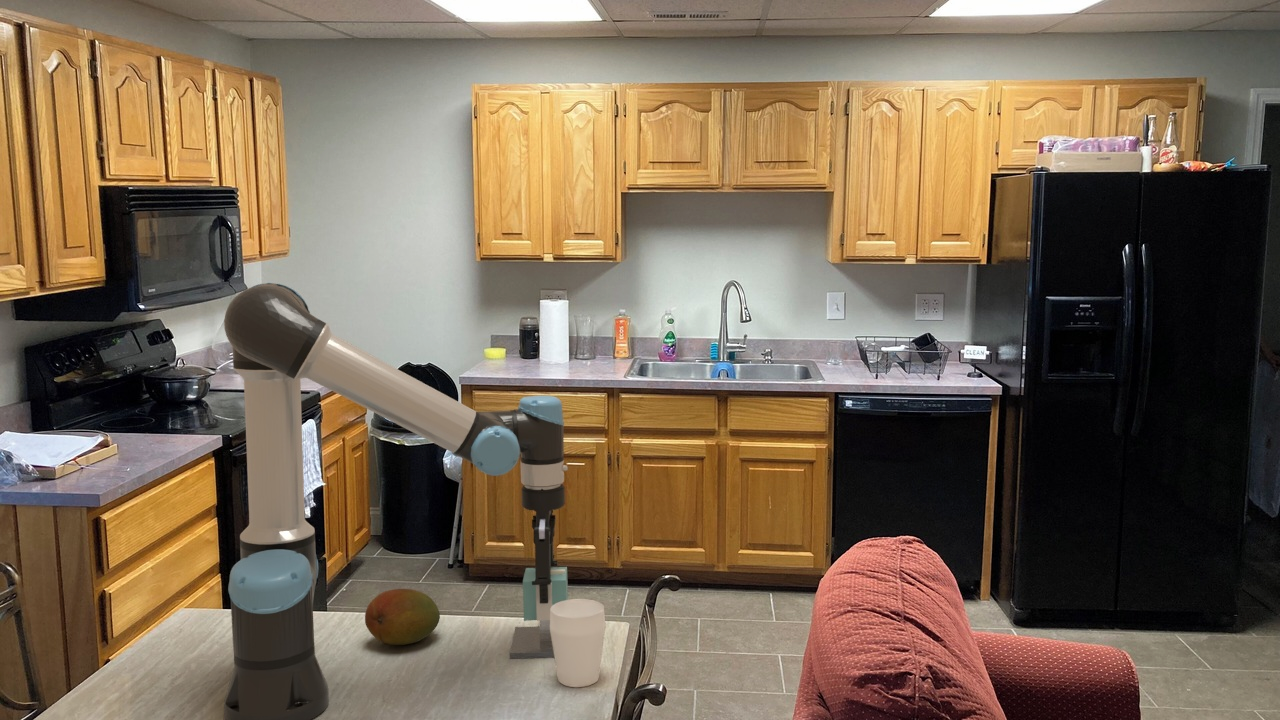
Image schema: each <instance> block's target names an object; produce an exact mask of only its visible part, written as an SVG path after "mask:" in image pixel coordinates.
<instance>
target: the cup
mask: <svg viewBox="0 0 1280 720" xmlns="http://www.w3.org/2000/svg"><path fill="white" fill-rule="evenodd" d="M605 618H606V615H605V606H604V604H603V603H602V602H600V601H597V600H593V599H587V598H570V599H568V600H564V601H561V602H558V603H556V604H554V605H553V606H552V607H551V609H550V633H551V639H552V645H553V651H554V662H555V667H556V674H557V680H558V683H561V684H562V685H564V686H566V687H571V688H583V687H589V686H591V685H593V684H595V683H597V682H598V680H599V679H600V671H601V663H602V655H603V647H604V641H605V631H606V619H605Z"/></svg>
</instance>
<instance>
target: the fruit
mask: <svg viewBox="0 0 1280 720" xmlns="http://www.w3.org/2000/svg"><path fill="white" fill-rule="evenodd" d="M440 619H441V614H440V609H439V607H438V605H437V604H436V602H435V601H434V600H433V599H432V598H431V597H430V596H429V595H428V594H426V593H424V592H421V591H419V590H415V589H411V588H409V589H408V588H397V589H395V588H394V589H390V590H386V591H383V592H381V593H379V594H378V595H376V596H375V597H373V599H372V600H371V601H370V602H369V604H368V605H367V607H366V610H365V614H364V623H365V627H366V628H367V630H368V632H369V633H370V634H371V636H373V638H375V639H376V640H378V641H379V642H381V643H383V644H386V645H394V646H405V645H410V644H414V643H418V642H419V641H422V640H423V639H425V638H427V637H428V636H430V635H431V633H432V632H434V631H435V629H436V628H437V626H438V624H439V622H440Z"/></svg>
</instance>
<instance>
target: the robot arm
mask: <svg viewBox="0 0 1280 720" xmlns="http://www.w3.org/2000/svg"><path fill="white" fill-rule="evenodd" d="M223 322H224V323H223V327H224V332H225V336H226V338H227V340H228V342H229V343H230V345H231V347H232V363H233V364H232V366H233V371H235V372H236V374H238V375H240V377H241V378H242V379H243V387H244V388H243V389H244V391H243V392H244V417H245V441H246V443H245V444H246V446H245V447H246V463H247V464H246V465H247V466H246V467H247V469H246V470H247V492H248V494H247V495H248V497H247V498H248V518H249V519H248V522H249V523H248V526H247V527H245V529H244V530H243V531H242V532H241V533H240V534H239V548H240V549H239V550H240V560H239V561H237V562H236V563H235V564H234V565H233V566H232V568H231V570H230V572H229V573H230V574H229V580H228V581H229V582H228V588H227V589H228V594H229V598H230V612H231V613H230V614H231V629H232V648H233V649H232V650H233V651H232V652H233V670H232V673H231V677H230V679H229V684H228V687H227V692H226V694H225V698H224V702H223V709H224V711H223V713H224V714H223V715H224V720H312V719H314V718H316V717H318V716H319V715H321V714H322V713H323V712H324V711H325V710H326V709H327V707H328V706H329V703H330V693H329V685H328V682H327V681H326V677H325V676H324V673H323V670H322V668H321V666H320V663H319V662H318V659H317V656H316V650H315V649H316V648H315V630H314V597H315V596H314V595H315V589H316V584H317V579H318V578H319V576H318V575H319V561H318V558H317V554H316V551H317V550H316V532H315V527H314V526H313V525H311V524H310V523H309V522H308V521H307V520H306V517H305V516H306V515H305V487H304V486H305V483H304V482H305V481H304V455H303V453H304V451H303V450H304V449H303V426H302V425H303V420H302V419H303V418H302V397H301V396H302V392H301V391H302V390H301V386H302V385H301V380H302V379H309V380H310V381H312V382H315V383H317V384H318V385H320V386H321V387H323V388H325V389H328V390H330V391H332V392H333V393H335V394H338V395H339V396H341V397H344V398H345V399H347V400H349V401H352V403H355V404H357V405H359V406H361V407H363V408H365V409H367V410H369V411H370V412H373V413H374V414H376V415H379V416H380V417H383V419H386V420H388V421H390V422H392V423H394V424H396V425H398V426H400V427H401V428H404V429H406V430H407V431H410V432H412V433H414V434H415V435H417V436H419V437H421V438H423V439H425V440H427V441H429V442H431V443H433V444H435V445H438V446H439V447H441V448H442V449H445V450H446V451H449V452H450V453H451V454H452V455H453V456H454V457H456V458H457V457H458V458H459V457H460V458H461V459H463V460H465V461H467V462H469V463H471V464H472V465H474V466H475V467H476V469H477V470H479V471H480V472H482V473H484V474H485V475H489V476H492V477H494V476H502V475H505V474H507V473H509V472H510V471H512V470H513V469H514V468H515V466H516V465H517V463H518V462H520V484H522V485H523V486H522V487H521V505H522V508H523V509H525V510H528V511H534V512H535V514H536V515H535V514H534V515H532V519H531V528H532V530H533V531H532V532H533V534H532V536H533V538H532V539H533V544H534V557H535V558H534V560H535V561H534V563H535V567H534V568H535V578H536V579H535V581H532V585H536V612H537V620H536V621H538V622H539V621H540V620H550V609H551V607H552V582H551V567H558V560H555V555H554V553H555V552H554V537H555V527H556V514H553V513H554V511H556V510H559V509H561V508H563V507H564V506H565V505H566V504H565V503H566V496H565V495H566V494H565V493H566V492H565V491H566V489H565V486H564V484H563V483H564V482H565V472H566V471H568V469H569V468H568V465H567V464H566V465H565V464H564V463H565V461H564V457H565V455H564V454H565V452H564V447H565V443H564V441H565V440H564V426H565V422H564V413H563V403H562V401H561V400H560V398H558V397H557V396H553V395H532V396H530V395H529V396H524V397H521V398H520V400H519V401H518V403H519V404H518V406H517V407H518V408H515V409H510V410H495V411H494V410H490V411H487V410H486V411H476V410H474V409H472V408H470V407H469V406H467V405H465V404H464V403H462V402H459V401H457V400H456V399H454V398H452V397H450V396H448V395H447V394H445V393H443V392H441V391H439V390H437V389H435V388H434V387H432V386H429V385H428V384H425V383H424V382H423V381H420V380H418V379H417V378H415V377H413V376H411V375H409V374H407V373H405V372H404V371H402V370H399V369H398V368H396V367H394V366H393V365H391V364H389V363H387V362H385V361H383V360H381V359H380V358H378V357H376V356H374V355H371V354H370V353H368V352H366V351H365V350H362V349H361V348H359V347H357V346H355V345H353V344H351V343H349V342H348V341H345V340H344V339H342V338H340V337H338V336H337V335H335V334H333V333H332V331H331V329H330V325H329V323H326V322H324V321H323V320H321V319H319V318H317V317H316V316H314V315H312V313H311V312H310V310H309V306H308V304H307V302H306V301H305V299H304V298H303V297H302V296H301V295H300V294H299V293H298V291H296V290H295V289H293V288H292V287H289V286H287V285H284V284H281V283H272V282H267V283H259V284H258V283H257V284H256V285H253V286H251V287H249V288H247V289H244V290H242V291H241V292H239V293H238V294H237V295H236V296H235V297H234V298H233V299H232V300H231V302H230V303H229V304H228V306H227V309H226V311H225V315H224V319H223ZM519 459H520V461H519Z"/></svg>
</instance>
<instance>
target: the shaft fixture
mask: <svg viewBox="0 0 1280 720" xmlns="http://www.w3.org/2000/svg"><path fill="white" fill-rule="evenodd" d="M538 622H539V625H538V626H515V627H514V631H513V636H512V641H511V645H510V649H509V659H512V660H513V659H541V658H542V659H549V658H554V659H555V657H554V651H553V645H552V639H551V633H550V620H540V621H538Z"/></svg>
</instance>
